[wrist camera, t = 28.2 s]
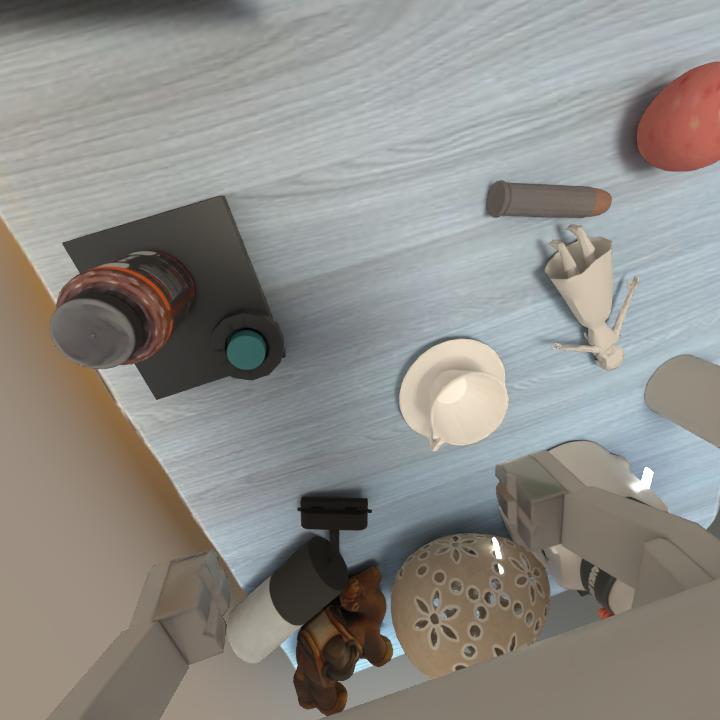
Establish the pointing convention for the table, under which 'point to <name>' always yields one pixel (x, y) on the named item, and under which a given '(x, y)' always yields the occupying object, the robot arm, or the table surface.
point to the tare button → (246, 349)
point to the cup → (688, 395)
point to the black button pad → (212, 292)
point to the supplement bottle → (121, 310)
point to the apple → (684, 122)
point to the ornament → (467, 602)
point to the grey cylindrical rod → (546, 200)
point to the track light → (297, 581)
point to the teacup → (455, 393)
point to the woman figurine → (590, 293)
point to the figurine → (341, 643)
